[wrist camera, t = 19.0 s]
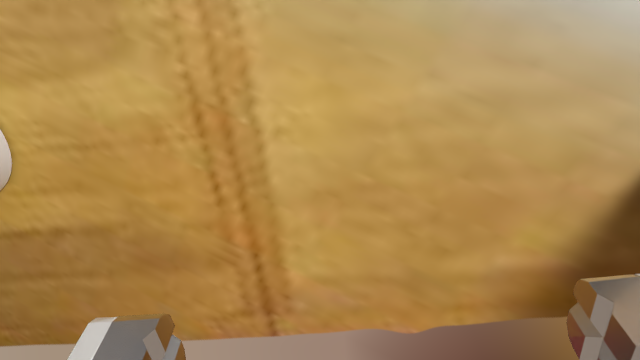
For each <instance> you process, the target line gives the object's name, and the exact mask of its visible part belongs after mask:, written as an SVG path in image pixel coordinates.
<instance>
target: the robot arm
mask: <svg viewBox="0 0 640 360" xmlns="http://www.w3.org/2000/svg"><path fill="white" fill-rule="evenodd" d="M11 168H12V160H11V153H10V149H9V146H8V144H7V141H6V139H5V137H4V135H3V133H2V132H1V130H0V191H1V190H2V188H3V187H4V186H5V185H6V183H7V182H8V180H9V177H10V174H11ZM573 295H574V297H575V298H576V300H577V301H578V303H577V304H575V305H574V306H573V307H572V308H571V309H570V310H569V313H568V318H567V328H568V335H569V339H570V341H571V344H572V346H573V349H574V350H575V352H576V354H577V356H578V357H579V359H580V360H640V274H634V275H619V276H608V277H598V278H587V279H579V281H578V282H577V283H576V284H575V287H574V291H573ZM174 327H175V325H174V323H173V320H172V318H171V316H170V315H169V314H150V315H132V316H119V317H105V318H95V319H94V320H92V321H91V322H90V323H88V325H87V326H86V328H85V330H84V332H83V333H82V335H81V337H80V338H79V340H78V342H77V343H76V345H75V347H74V349H73V351H72V352H71V354H70V355H69V357H68V359H67V360H186V357H185V351H184V347H183V344H182V342H181V340H179V339H178V338H177V337H175V336H174V335H172V333H173V330H174Z"/></svg>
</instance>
